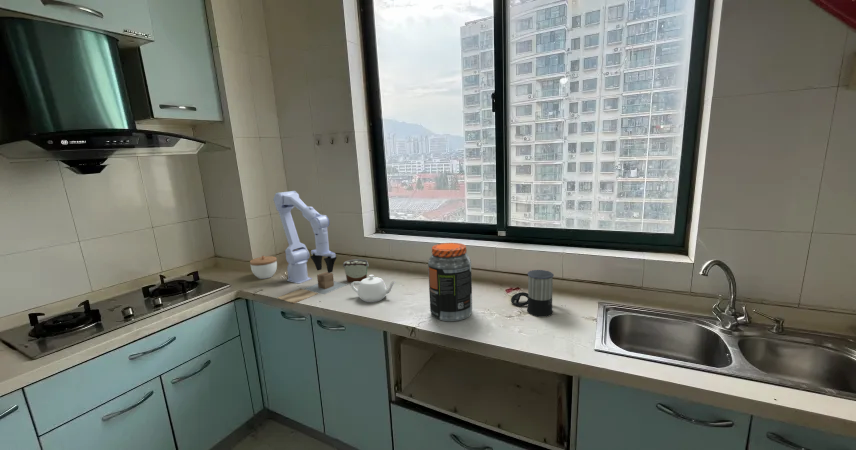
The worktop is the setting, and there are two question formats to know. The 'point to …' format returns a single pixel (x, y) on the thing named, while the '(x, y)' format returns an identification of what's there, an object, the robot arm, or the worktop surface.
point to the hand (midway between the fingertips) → (324, 271)
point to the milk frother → (537, 293)
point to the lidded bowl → (264, 266)
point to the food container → (355, 270)
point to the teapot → (372, 289)
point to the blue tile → (324, 291)
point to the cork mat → (297, 296)
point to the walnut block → (325, 280)
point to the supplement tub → (450, 282)
